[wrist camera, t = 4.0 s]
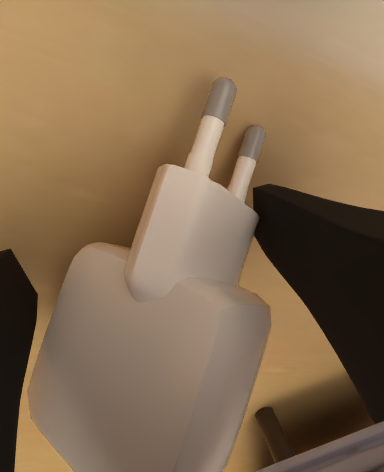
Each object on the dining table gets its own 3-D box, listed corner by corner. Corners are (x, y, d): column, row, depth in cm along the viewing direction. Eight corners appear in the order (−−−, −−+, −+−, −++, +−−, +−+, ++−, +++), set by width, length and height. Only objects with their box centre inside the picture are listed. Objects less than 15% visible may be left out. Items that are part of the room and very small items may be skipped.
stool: (416, 349, 24) (482, 413, 20) (378, 431, 32) (420, 489, 27) (248, 410, 22) (283, 494, 18) (253, 481, 30) (278, 551, 25)
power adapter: (114, 60, 9) (312, 38, 6) (195, 136, 13) (339, 147, 10) (-10, 417, 9) (128, 601, 6) (113, 383, 13) (234, 478, 10)
